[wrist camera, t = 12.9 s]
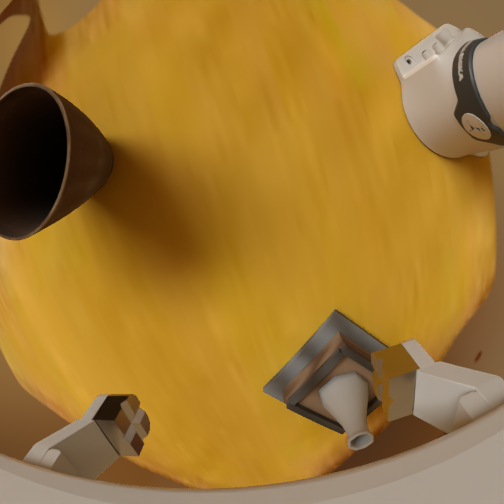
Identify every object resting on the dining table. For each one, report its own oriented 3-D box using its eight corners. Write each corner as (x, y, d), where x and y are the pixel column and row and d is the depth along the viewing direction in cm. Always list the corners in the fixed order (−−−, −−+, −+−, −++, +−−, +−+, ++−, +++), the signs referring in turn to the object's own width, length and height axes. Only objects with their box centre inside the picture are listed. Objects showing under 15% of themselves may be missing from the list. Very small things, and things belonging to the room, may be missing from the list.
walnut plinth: (335, 309, 39) (344, 326, 35) (406, 360, 41) (419, 377, 36) (263, 387, 43) (263, 409, 38) (338, 425, 44) (344, 445, 40)
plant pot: (111, 88, 33) (41, 51, 18) (160, 177, 36) (95, 179, 21) (39, 152, 36) (-40, 151, 20) (79, 236, 38) (2, 267, 23)
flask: (357, 362, 37) (380, 410, 27) (375, 394, 38) (397, 441, 28) (309, 387, 38) (320, 440, 28) (331, 417, 39) (343, 467, 30)
